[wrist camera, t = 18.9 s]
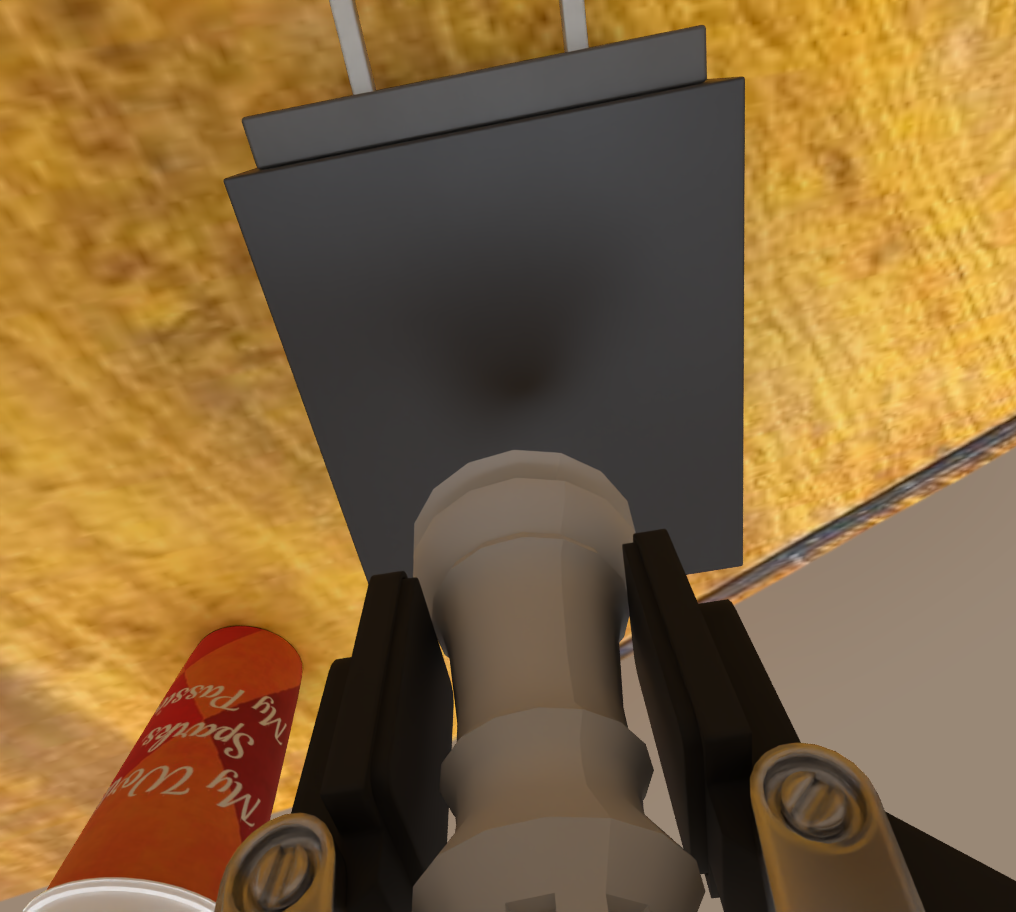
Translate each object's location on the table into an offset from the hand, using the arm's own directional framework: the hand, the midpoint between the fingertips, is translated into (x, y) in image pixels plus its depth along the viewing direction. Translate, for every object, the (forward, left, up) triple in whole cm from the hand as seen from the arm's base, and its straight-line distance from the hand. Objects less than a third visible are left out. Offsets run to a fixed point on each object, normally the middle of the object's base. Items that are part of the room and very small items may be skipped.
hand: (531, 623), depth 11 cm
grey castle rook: (0, 0, -3) cm, 3 cm away
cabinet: (0, 0, -18) cm, 18 cm away
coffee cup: (-7, -24, -19) cm, 31 cm away
